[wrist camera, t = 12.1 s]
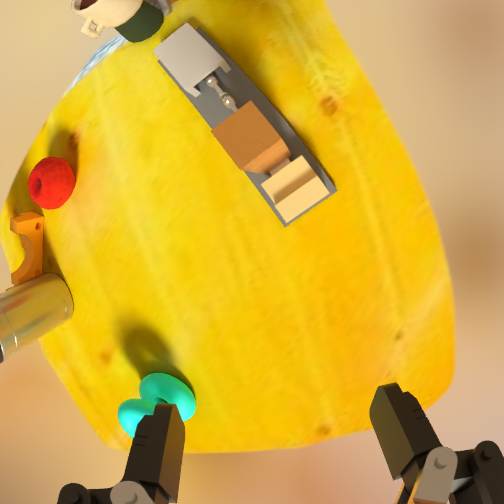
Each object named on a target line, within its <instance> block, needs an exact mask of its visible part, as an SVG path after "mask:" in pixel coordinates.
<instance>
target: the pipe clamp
mask: <svg viewBox="0 0 504 504" xmlns="http://www.w3.org/2000/svg"><path fill="white" fill-rule="evenodd" d="M43 227H44V217H43V216H41V215H39V214H37V213H35V212H33V211H29V212H24V213H20V214H19V217H16V218H11V219H10V230H11V231H13V232H14V233H16V234H20V236H21V240H22V247H23V248H25V249H26V255H25V258H24V261H23V263H22V264H21V266H20V267H19V268H18V269H17V270H16V271H15V272H13V273H12V274H11V278H12V284H13V285H17V284H20V283H22V282H24V281H27V280H29V279H32V278H34V277H36V276H39V275H41V274H43V271H42V254H43Z"/></svg>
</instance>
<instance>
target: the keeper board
mask: <svg viewBox="0 0 504 504" xmlns="http://www.w3.org/2000/svg"><path fill="white" fill-rule="evenodd" d="M153 53H154V54H155V55H156V56H157V57H158V58H159V60H158V63H159V64H160V65H161V66H162V67H163V68H164V70H165V71H166V72H167V73H168V75H169V76H170V77H171V78H172V79H173V81H174V82H175V83H176V84H177V85H178V87H179V88H180V89H181V90H182V92H183V93H184V94H185V95H186V97H187V98H188V99H189V100H190V102H191V103H192V104H193V105H194V107H195V108H196V109H197V110H198V112H199V113H200V114H201V115H202V117H203V118H204V119H205V120H206V122H207V123H208V124H209V126H210V127H211V128H212V129H214V128H215V127H217V126H218V125H219V124H220V123H222V122H223V121H224V120H225V119H227V118H228V117H229V116H231V115H232V114H233V113H234V111H233V110H232V109H228V108H227V107H226V106H225V105H224V104H223V103H222V101H221V100H220V98H219V93H218V92H217V91H216V90H215V89H214V88H211V87H209V86H208V85H207V84H206V82H205V81H204V80H203V79H204V78H205V77H206V76H207V75H209V74H210V73H211V74H212V75H213V76H214V77H215V78H216V79H217V80H218V86H219V87H220V88H221V89H222V90H223V92H228V93H229V94H230V95H231V96H232V98H233V99H234V100H235V101H236V107H237V108H238V109H240V108H241V107H242V106H244V105H245V104H246V103H248V102H249V101H250V100H251V101H252V102H253V104H254V105H255V106H256V107H257V108H258V110H259V111H260V112H261V113H262V114H263V116H264V117H265V118H266V119H267V121H268V122H269V123H270V124H271V125H272V127H273V128H274V129H275V130H276V132H277V133H278V134H279V136H280V137H281V138H282V140H283V141H284V143H285V144H286V146H287V147H288V149H289V151H290V152H291V154H292V157H291V158H290V159H289V160H290V161H291V163H290V164H288V165H287V166H286V167H284V168H283V169H281V170H280V171H279V172H277V173H276V174H275V175H273V176H272V175H271V173H269V174H267V175H264V174H259V173H254V172H249V171H244V172H245V173H246V174H247V176H248V177H249V178H250V180H251V181H252V182H253V184H254V185H255V186H256V188H257V189H258V190H259V192H260V193H261V195H262V196H263V197H264V199H265V200H266V201H267V203H268V204H269V206H270V207H271V208H272V210H273V211H274V213H275V214H276V215H277V217H278V218H279V220H280V221H281V222H282V224H283V225H284V227H286V226H287V225H289V224H290V223H292V222H293V221H294V220H296V219H297V218H299V217H300V216H302V215H303V214H305V213H306V212H307V211H309V210H310V209H312V208H313V207H315V206H316V205H318V204H319V203H321V202H322V201H323V200H325V199H326V198H328V197H329V196H331V195H332V194H334V193H335V192H337V189H336V188H335V186H334V185H333V184H332V182H331V181H330V179H329V178H328V176H327V175H326V174H325V172H324V171H323V169H322V168H321V167H320V165H319V164H318V163H317V161H316V160H315V158H314V157H313V156H312V154H311V153H310V152H309V150H308V149H307V148H306V146H305V145H304V144H303V143H302V141H301V140H300V139H299V137H298V136H297V135H296V133H295V132H294V131H293V130H292V128H291V127H290V126H289V125H288V123H287V122H286V121H285V120H284V118H283V117H282V116H281V115H280V114H279V112H278V111H277V110H276V109H275V108H274V106H273V105H272V104H271V103H270V102H269V100H268V99H267V98H266V97H265V96H264V95H263V93H262V92H261V91H260V90H259V89H258V88H257V87H256V85H255V84H254V83H253V82H252V81H251V80H250V79H249V78H248V77H247V75H246V74H245V73H244V72H243V71H242V70H241V69H240V68H239V67H238V66H237V65H236V64H235V63H234V61H233V60H232V59H231V58H230V57H229V56H228V55H227V54H226V53H225V52H224V51H223V50H222V49H221V48H220V47H219V46H218V45H217V44H216V43H215V42H214V41H213V40H212V39H211V38H210V37H209V36H208V35H207V34H206V33H205V32H204V31H203V30H202V29H201V28H198V29H196V30H194V29H193V28H192V27H191V26H190V25H189V24H188V23H185V24H184V25H183V26H182V27H180V28H179V29H178V30H176V31H175V32H174V33H173V34H171V35H170V36H169V37H168V38H167V39H165V40H164V41H163V42H162V43H161V44H159V45H158V46H157V47H156V48H155V49H154V50H153Z"/></svg>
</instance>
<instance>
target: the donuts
mask: <svg viewBox="0 0 504 504" xmlns="http://www.w3.org/2000/svg"><path fill="white" fill-rule="evenodd" d="M139 392H140V397H141V399H129V400H126V401H124V402H123V403H122V404H121V405H120V406H119V409H118V419H119V422H120V424H121V426H122V427H123V429H124V430H125V431H126V432H127V433H128V434H129V435H130V436H131V437H132V438H134V437H135V435H134V434H135V431H136V427H137V424H138V423H139V421H140V420H141V419H142V418H143V416H144V415H153V412H154V408H155V405H156V404H157V403H167V402H168V403H169V404H176V405H177V407H178V410H179V413H180V415H181V418H182V420H183V421H186V420H188V419H189V418H191V417H192V416H193V414H194V412H195V410H196V401H195V397H194V395H193V393H192V392H191V390H190V389H189V388H188V387H187V386H186V385H185V384H184V383H183V382H182V381H180V380H179V379H177V378H175V377H173V376H171V375H168V374H165V373H152V374H149V375H147V376H145V377H144V378H143V379H142V381H141V383H140V387H139ZM161 398H162V399H164V400H166V401H167V402H165V401H163V400H162V399H161Z"/></svg>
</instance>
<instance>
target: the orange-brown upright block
mask: <svg viewBox="0 0 504 504" xmlns="http://www.w3.org/2000/svg"><path fill="white" fill-rule="evenodd" d="M203 80H204V81H205V82H206V84H207V85H208V86H209V87H211V88H214V89H215V90H216V91H217V92H218V93H219V98H220V100H221V101H222V103H223V104H224V105H225V106H226V107H227V108H228V109H232V110H233V111H234V113H233V114H232V115H231V116H229V117H228V118H227V119H225V120H224V121H223V122H222V123H220V124H219V125H218V126H217V127H215V128H214V129H213V130H212V131H211V132H212V133H213V135H214V136H215V137H216V139H217V140H218V141H219V143H220V144H221V145H222V147H223V148H224V149H225V150H226V152H227V153H228V154H229V156H230V157H231V158H232V160H233V161H234V162H235V164H236V165H237V166H238V168H239V169H240V170H244V171H249V172H254V173H259V174H264V175H267V174H269V173H271V175H272V176H273V175H275V174H276V173H277V172H279V171H280V170H281V169H283V168H284V167H286V166H287V165H288V164H290V163H291V161H290V160H289V159H290V158H291V157H292V154H291V152H290V151H289V149H288V147H287V146H286V144H285V143H284V141H283V140H282V138H281V137H280V136H279V134H278V133H277V132H276V130H275V129H274V128H273V127H272V125H271V124H270V123H269V122H268V121H267V119H266V118H265V117H264V116H263V114H262V113H261V112H260V111H259V110H258V108H257V107H256V106H255V105H254V104H253V102H252V101H251V100H250V101H249V102H248V103H246V104H245V105H244V106H242V107H241V108H240V109H238V108H237V107H236V101H235V100H234V99H233V98H232V96H231V95H230V94H229V93H228V92H223V90H222V89H221V88H220V87H219V86H218V80H217V79H216V78H215V77H214V76H213V75H212V74H211V73H210V74H209V75H207V76H206V77H205V78H204V79H203Z"/></svg>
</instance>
